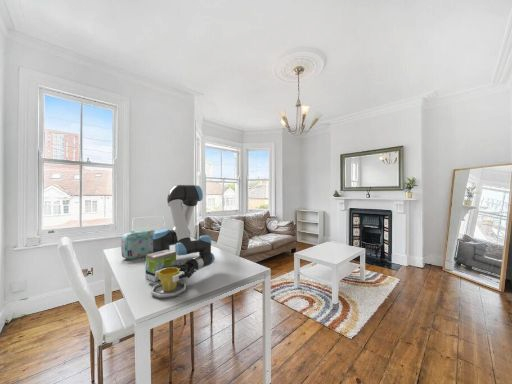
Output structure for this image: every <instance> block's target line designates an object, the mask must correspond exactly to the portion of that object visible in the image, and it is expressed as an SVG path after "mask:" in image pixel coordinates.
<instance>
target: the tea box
mask: <svg viewBox="0 0 512 384" xmlns="http://www.w3.org/2000/svg"><path fill="white" fill-rule="evenodd" d="M175 264H177V254H176V252H175V250H171V249H170V250H164V251H159V252H155V253H151V254H147V255H146V256H145V272H144V273H145V274H144V275H145V277H144V278H145V279H146V280H148V281H151V282H152V283H153V282H154V283H156V282H158V281H161V280H160V279H159V276H157V277H155V272H156V271H159V270H161V269H164V266H169V265H175Z"/></svg>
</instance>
